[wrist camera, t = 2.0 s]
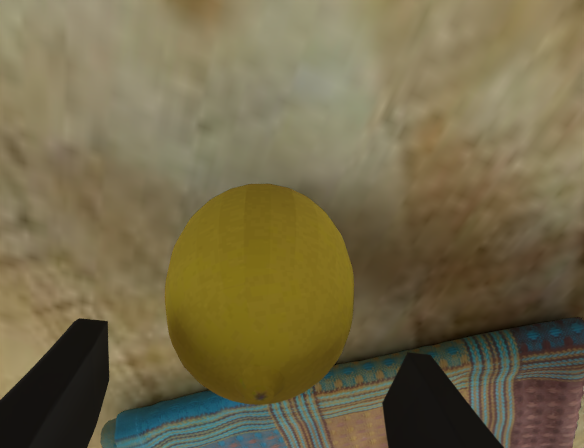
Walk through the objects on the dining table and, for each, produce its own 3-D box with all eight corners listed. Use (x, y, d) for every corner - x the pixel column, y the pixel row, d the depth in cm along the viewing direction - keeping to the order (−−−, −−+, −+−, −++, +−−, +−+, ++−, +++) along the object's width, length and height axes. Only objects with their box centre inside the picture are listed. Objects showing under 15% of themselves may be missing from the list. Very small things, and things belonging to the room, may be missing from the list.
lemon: (279, 290, 19) (286, 485, 12) (162, 229, 17) (91, 420, 10) (364, 197, 16) (432, 373, 10) (240, 114, 15) (217, 262, 8)
